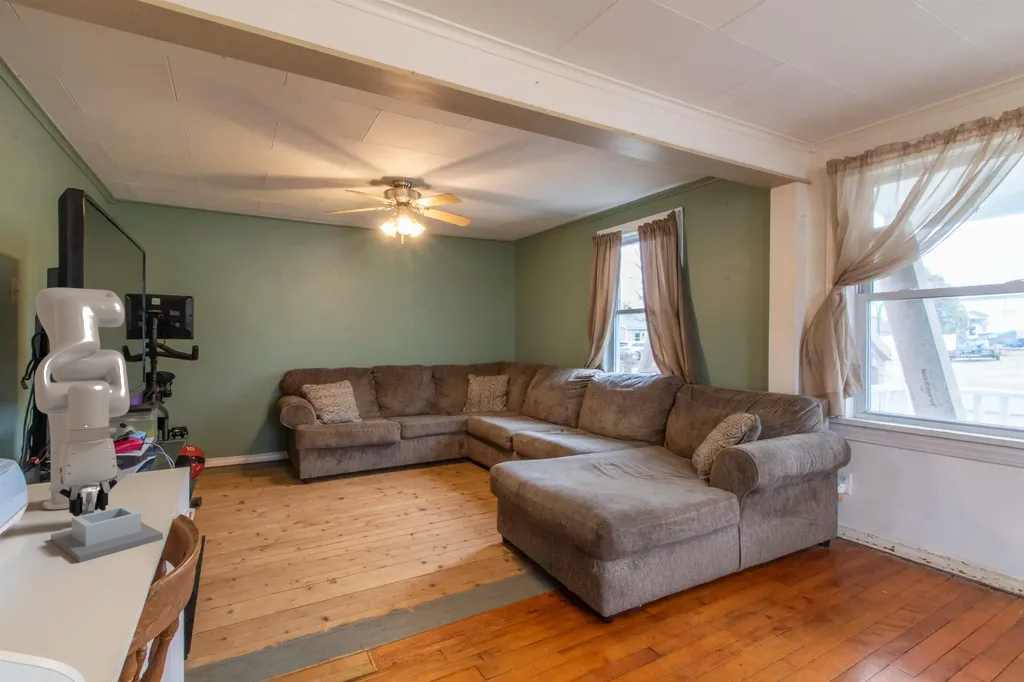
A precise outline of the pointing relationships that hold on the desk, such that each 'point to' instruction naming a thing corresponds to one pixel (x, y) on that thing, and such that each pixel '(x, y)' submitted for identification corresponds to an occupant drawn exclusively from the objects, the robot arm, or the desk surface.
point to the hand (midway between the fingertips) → (89, 511)
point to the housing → (105, 533)
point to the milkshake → (89, 498)
